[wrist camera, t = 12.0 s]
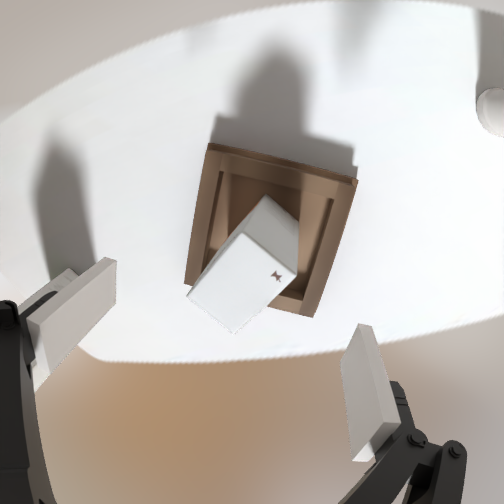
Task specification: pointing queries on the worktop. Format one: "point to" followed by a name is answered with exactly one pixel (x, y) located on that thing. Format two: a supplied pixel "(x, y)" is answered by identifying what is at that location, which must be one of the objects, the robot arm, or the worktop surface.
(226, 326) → the skincare box
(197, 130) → the worktop surface
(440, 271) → the worktop surface
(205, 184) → the brown square tray
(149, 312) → the worktop surface
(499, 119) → the bottle
